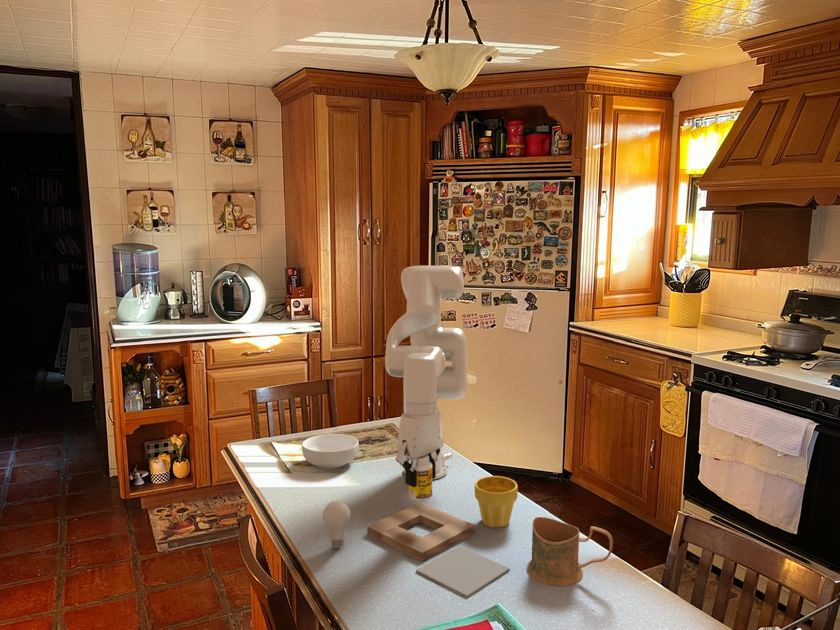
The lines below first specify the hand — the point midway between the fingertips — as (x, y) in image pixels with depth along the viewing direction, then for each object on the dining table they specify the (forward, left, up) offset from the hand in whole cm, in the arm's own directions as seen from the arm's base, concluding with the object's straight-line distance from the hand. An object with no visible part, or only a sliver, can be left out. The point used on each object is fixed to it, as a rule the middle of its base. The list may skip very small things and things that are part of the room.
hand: (420, 480), depth 158 cm
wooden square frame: (0, +1, -13) cm, 13 cm away
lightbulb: (+18, -8, -13) cm, 24 cm away
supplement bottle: (0, 0, -4) cm, 4 cm away
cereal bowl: (-13, -49, -13) cm, 53 cm away
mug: (-8, +36, -13) cm, 39 cm away
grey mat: (+6, +19, -13) cm, 23 cm away
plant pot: (-17, +10, -13) cm, 23 cm away
